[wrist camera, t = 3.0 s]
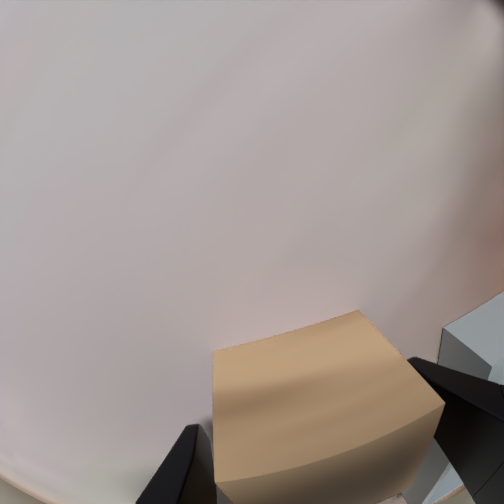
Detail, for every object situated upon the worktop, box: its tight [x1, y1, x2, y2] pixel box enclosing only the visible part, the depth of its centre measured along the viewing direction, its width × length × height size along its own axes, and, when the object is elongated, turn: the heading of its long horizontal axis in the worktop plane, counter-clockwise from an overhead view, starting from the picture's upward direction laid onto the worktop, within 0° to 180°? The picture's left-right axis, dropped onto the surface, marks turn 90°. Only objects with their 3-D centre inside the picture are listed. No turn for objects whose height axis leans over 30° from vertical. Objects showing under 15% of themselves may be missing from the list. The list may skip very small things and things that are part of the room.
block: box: [213, 310, 445, 504], centre depth 7 cm, size 4×4×4 cm
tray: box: [401, 291, 504, 504], centre depth 10 cm, size 16×11×3 cm
